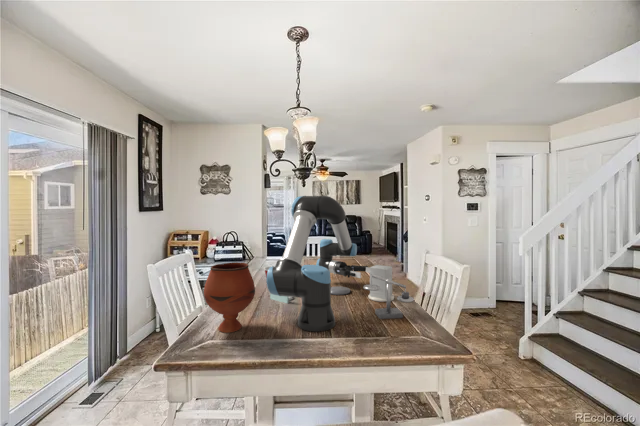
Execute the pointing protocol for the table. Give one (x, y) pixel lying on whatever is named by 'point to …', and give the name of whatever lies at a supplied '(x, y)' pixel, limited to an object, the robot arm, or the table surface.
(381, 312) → the balance
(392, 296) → the cream dish
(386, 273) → the supplement box
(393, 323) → the table surface
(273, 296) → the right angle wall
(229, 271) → the goblet
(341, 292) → the charcoal dish
